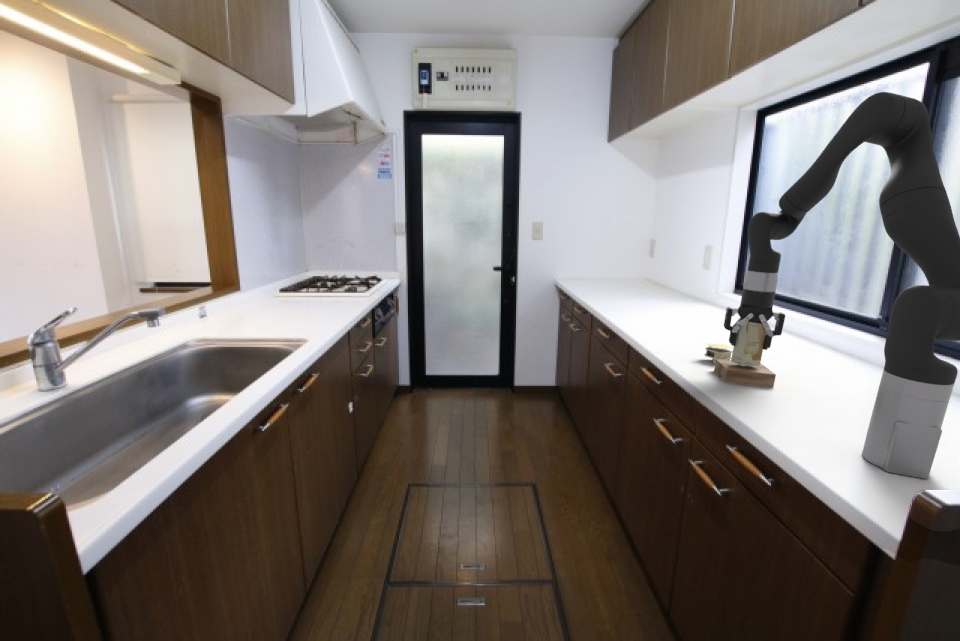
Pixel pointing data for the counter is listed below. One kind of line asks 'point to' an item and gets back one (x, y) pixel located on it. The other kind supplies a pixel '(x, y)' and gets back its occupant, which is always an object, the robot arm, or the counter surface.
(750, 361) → the skincare box
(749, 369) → the walnut block
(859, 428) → the counter surface
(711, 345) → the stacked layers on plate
